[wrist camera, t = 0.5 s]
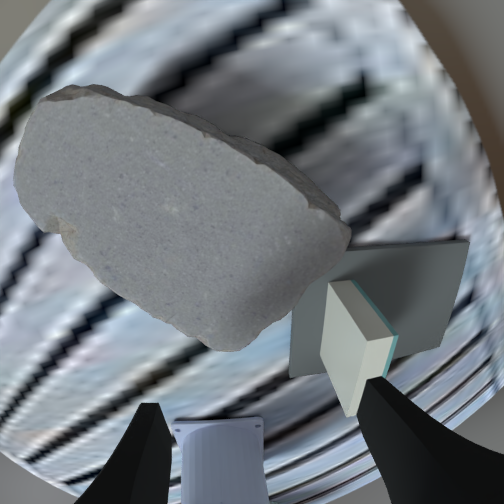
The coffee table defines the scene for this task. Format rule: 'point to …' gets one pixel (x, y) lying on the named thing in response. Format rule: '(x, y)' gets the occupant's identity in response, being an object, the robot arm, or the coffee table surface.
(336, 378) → the tile
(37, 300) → the coffee table surface
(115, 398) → the coffee table surface
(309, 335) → the mat
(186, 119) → the decorative stone
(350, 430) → the coffee table surface
